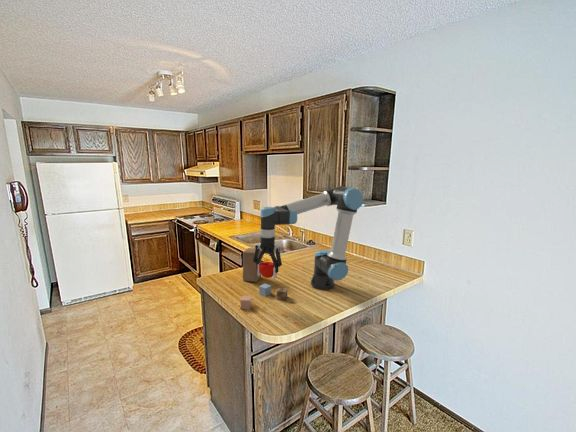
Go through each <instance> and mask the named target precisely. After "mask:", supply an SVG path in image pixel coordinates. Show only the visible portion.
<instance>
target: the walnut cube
mask: <svg viewBox="0 0 576 432" xmlns="http://www.w3.org/2000/svg"><path fill="white" fill-rule="evenodd" d="M287 298H288V288H287V287H278V289H277V290H276V300H280V301H286V299H287Z"/></svg>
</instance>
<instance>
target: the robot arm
mask: <svg viewBox="0 0 576 432" xmlns="http://www.w3.org/2000/svg"><path fill="white" fill-rule="evenodd" d="M363 205H364V195H363V193H362V192H361V191H360V190H359V189H358V188H355V187H351V186H343V185H342V186H341V185H340V186H335V187H333V188H330V189H327V190H323V192H322V193H319V194H316V195H313V196H310V197H307V198H303V199H300V200H295V201H293V202H290V203H287V204H283V205H274V206H263V207H261V209H260V244H256V245H254V249H256V250H255V254H254V259H253V262H255V263H256V269H258V276H259V275H261V276H262V274H261V273H260V271H259V265H260V261H261V262H262V259H263V257H264V254H267V255H269V256H270V258H271V260H272V261H271V262H272V263H274V266H275V267H274V270H273V276H272V278H273V280H275V279H277V278H278V273H279V268H280V267H281V266H282V265H283V263H282V259H281V258H282V257H281V248H280V247H276V246H275V244H276V243H275V242H276V240H275V239H276V238H275V235H276V234H275V233H276V226H283V225H286V226H287V225H296V223H297V222H298V215H299V214H302V213H307V212H309V211H312V210H317V209H319V208H321V207H324V206H327V207H331V206H336V210H337V218H336V223H335V227H334V232H333V236H332V237H333V238H332V241H331V248H330V249H318V250H316V251H315V253H314V264H313V265H314V267H313V275H312V277H311V280H310V286H311V287H312V288H315V290H321V291H322V290H323V291H327V290H332V289H333V287H334V288H335V282H336V281H341V280H343V279H344V278H346V277H347V275H348V273H349V266H348V264H347V260H348V258H347V256H346V252H347V248H348V242H349V237H350V233H351V227H352V222H353V218H354V215H355V214H356V215H357V213H358V210H359V209H360V208H361V207H362V206H363ZM260 249H261V253H260V255H259V257H258V254H259V250H260Z"/></svg>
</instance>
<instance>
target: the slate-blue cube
mask: <svg viewBox="0 0 576 432" xmlns="http://www.w3.org/2000/svg"><path fill="white" fill-rule="evenodd" d="M258 288H259V289H258V294H259V295H261V296H263V297H267V296H269V295H271V294H272V285H271V284H268V283H262V284H261V285H259V287H258Z"/></svg>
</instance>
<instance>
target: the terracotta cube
mask: <svg viewBox="0 0 576 432" xmlns="http://www.w3.org/2000/svg"><path fill="white" fill-rule="evenodd" d="M251 306H252V295H241V297H240V309H241V308H244V309H243V310H251Z"/></svg>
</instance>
